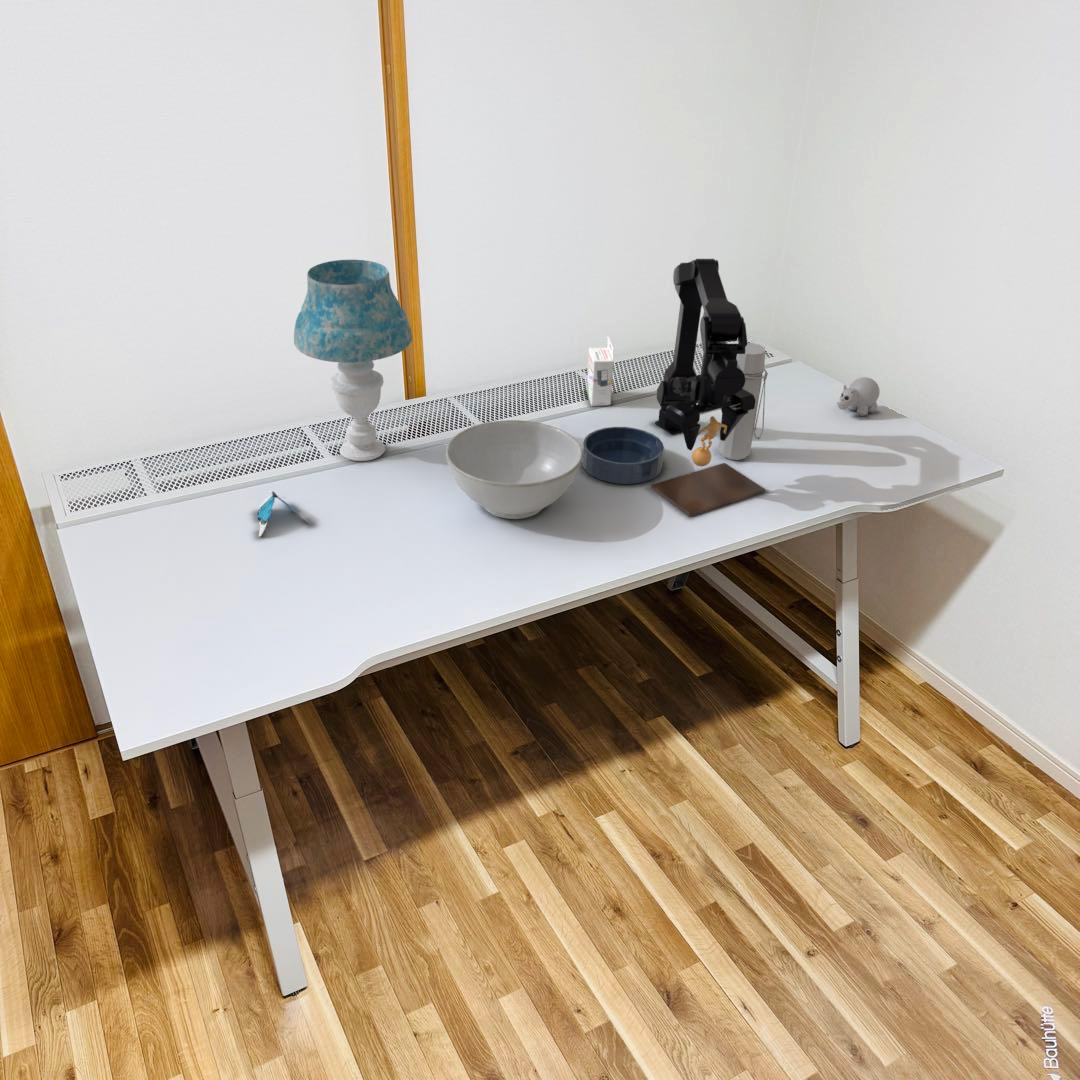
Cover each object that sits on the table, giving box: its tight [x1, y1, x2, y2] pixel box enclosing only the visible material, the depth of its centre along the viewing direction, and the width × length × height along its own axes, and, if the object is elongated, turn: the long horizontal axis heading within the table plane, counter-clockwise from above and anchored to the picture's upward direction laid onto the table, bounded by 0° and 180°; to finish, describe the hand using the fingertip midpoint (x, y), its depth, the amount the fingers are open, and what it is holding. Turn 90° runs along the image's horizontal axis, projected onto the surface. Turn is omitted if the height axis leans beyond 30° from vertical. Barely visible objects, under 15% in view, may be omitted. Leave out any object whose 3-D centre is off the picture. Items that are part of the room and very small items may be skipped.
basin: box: [581, 426, 665, 485], centre depth 212 cm, size 17×17×5 cm
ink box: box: [586, 336, 615, 407], centre depth 238 cm, size 9×5×15 cm, turn 6°
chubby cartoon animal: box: [836, 376, 881, 417], centre depth 236 cm, size 7×12×8 cm, turn 120°
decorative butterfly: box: [257, 490, 309, 537], centre depth 191 cm, size 10×6×10 cm
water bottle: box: [717, 342, 769, 461], centre depth 212 cm, size 9×8×25 cm
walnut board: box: [650, 462, 766, 518], centre depth 205 cm, size 20×13×1 cm, turn 121°
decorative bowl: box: [445, 419, 583, 520], centre depth 196 cm, size 27×27×12 cm
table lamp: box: [293, 259, 413, 462], centre depth 205 cm, size 24×24×40 cm
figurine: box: [691, 415, 727, 467], centre depth 200 cm, size 8×6×12 cm
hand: (706, 444), depth 200 cm, fingers closed on figurine, 8 cm apart
